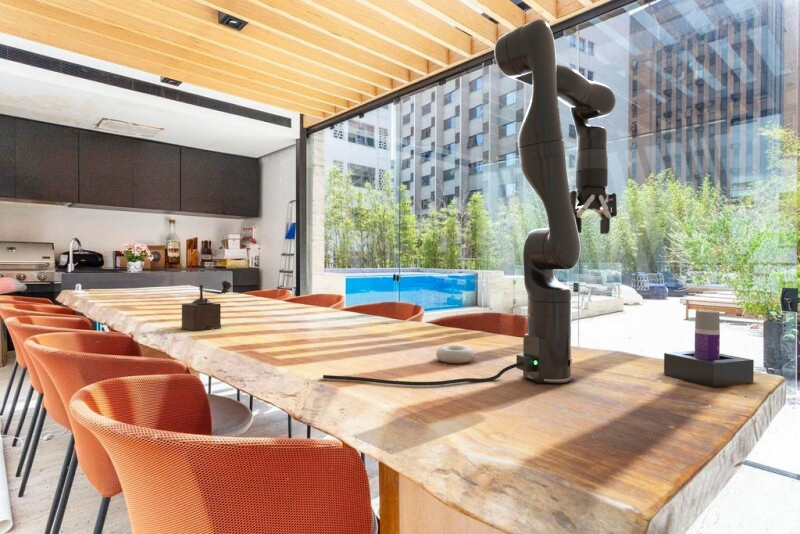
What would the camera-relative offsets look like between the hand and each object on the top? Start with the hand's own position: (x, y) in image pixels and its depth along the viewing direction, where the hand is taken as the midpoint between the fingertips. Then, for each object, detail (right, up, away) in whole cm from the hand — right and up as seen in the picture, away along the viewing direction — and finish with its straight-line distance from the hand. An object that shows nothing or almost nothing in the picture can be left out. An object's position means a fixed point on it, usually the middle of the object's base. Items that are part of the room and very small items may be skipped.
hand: (590, 233), depth 121 cm
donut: (-34, -33, +3) cm, 48 cm away
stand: (+20, -33, -15) cm, 42 cm away
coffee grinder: (-122, -32, +61) cm, 140 cm away
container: (+20, -34, -15) cm, 42 cm away
